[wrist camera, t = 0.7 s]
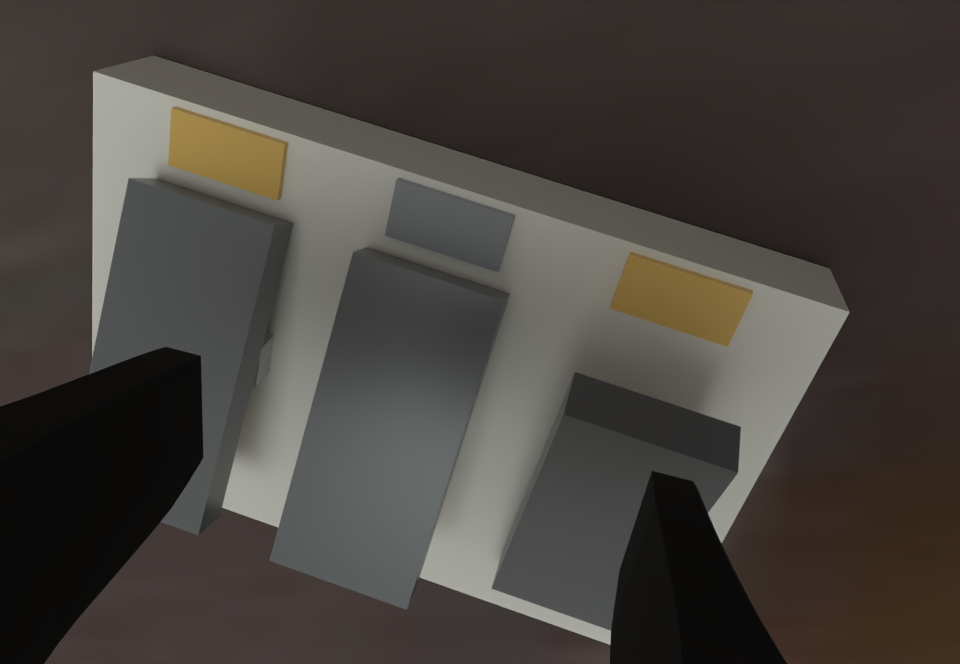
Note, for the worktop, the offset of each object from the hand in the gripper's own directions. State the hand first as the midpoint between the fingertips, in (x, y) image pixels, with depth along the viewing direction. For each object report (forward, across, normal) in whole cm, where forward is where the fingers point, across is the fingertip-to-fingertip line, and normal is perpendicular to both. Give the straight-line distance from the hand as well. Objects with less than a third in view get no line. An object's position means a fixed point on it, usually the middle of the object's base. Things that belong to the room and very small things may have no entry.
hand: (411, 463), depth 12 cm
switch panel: (+10, +2, +4) cm, 11 cm away
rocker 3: (+6, -4, +5) cm, 9 cm away
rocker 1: (+6, +7, +4) cm, 10 cm away
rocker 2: (+6, +2, +4) cm, 8 cm away
